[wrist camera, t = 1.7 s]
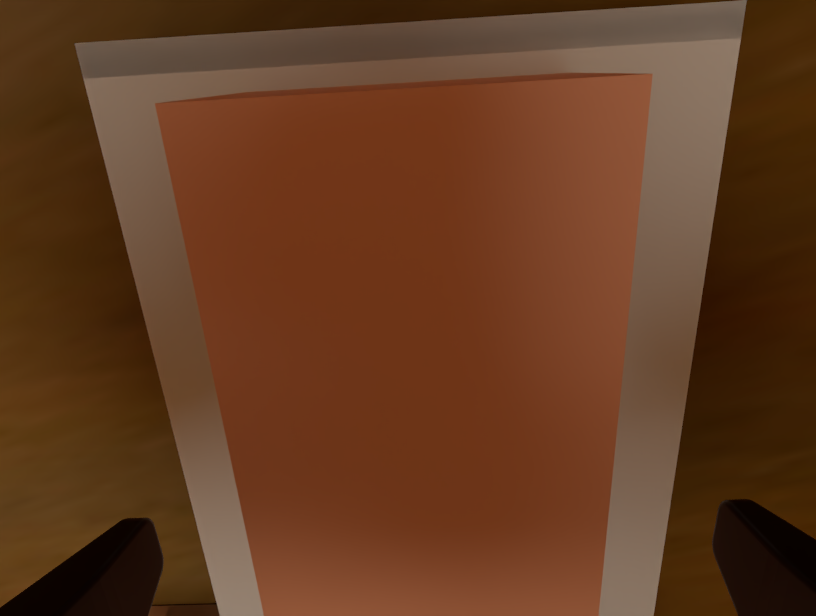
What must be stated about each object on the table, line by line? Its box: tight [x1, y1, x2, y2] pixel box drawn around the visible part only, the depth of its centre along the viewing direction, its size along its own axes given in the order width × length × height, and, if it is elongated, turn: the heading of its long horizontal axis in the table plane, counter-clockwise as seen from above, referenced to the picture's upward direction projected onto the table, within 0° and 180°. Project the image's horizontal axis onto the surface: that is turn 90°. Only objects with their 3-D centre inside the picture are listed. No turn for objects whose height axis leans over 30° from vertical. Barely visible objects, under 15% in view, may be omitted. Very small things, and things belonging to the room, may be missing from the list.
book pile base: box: [74, 0, 747, 616], centre depth 14 cm, size 12×15×2 cm
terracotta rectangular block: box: [155, 73, 653, 616], centre depth 11 cm, size 6×13×4 cm, turn 3°
